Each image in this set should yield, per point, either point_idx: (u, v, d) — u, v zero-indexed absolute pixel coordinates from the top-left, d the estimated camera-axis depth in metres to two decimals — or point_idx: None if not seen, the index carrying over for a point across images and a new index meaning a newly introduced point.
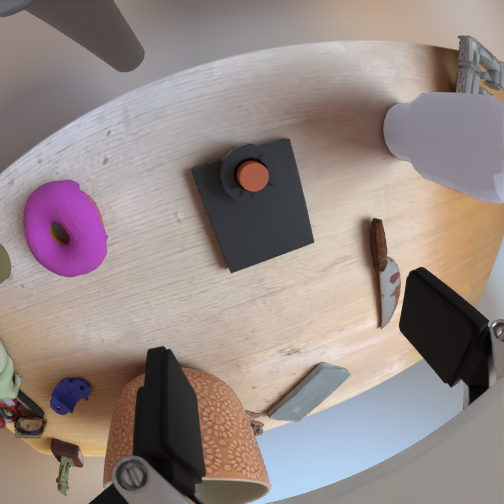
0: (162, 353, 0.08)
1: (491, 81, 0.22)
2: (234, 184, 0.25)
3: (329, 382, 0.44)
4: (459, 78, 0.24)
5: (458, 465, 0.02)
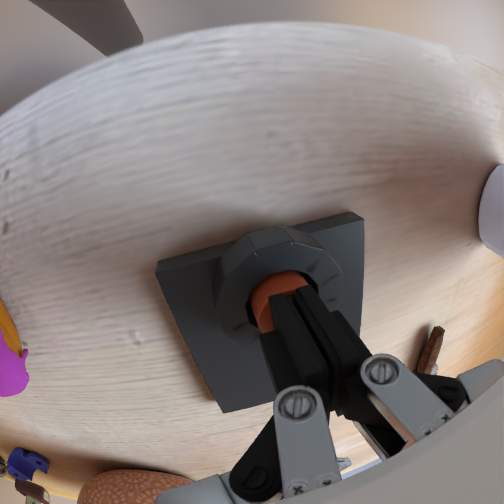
0: (284, 297, 0.10)
1: None
2: (245, 321, 0.11)
3: None
4: None
5: (458, 465, 0.02)
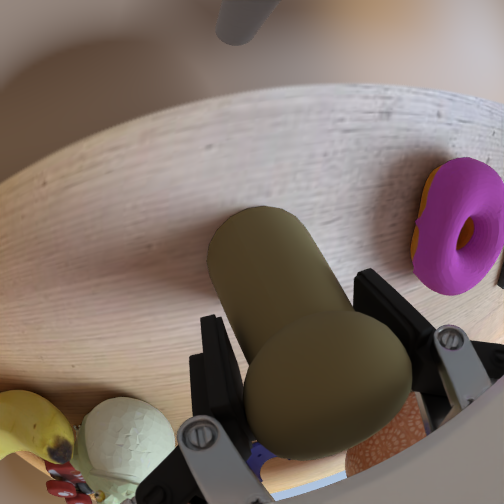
0: (215, 320, 0.09)
1: None
2: None
3: None
4: None
5: (458, 465, 0.02)
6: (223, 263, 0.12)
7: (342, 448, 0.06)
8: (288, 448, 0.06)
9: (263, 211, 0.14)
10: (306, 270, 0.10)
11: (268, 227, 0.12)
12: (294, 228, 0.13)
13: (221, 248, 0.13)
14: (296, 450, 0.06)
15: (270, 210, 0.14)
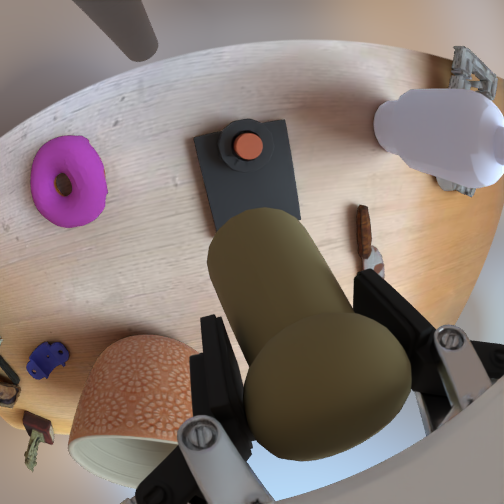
0: (215, 320, 0.09)
1: (483, 90, 0.26)
2: (230, 152, 0.26)
3: None
4: (451, 84, 0.27)
5: (458, 465, 0.02)
6: (224, 264, 0.12)
7: (342, 449, 0.06)
8: (288, 449, 0.06)
9: (263, 212, 0.14)
10: (307, 272, 0.10)
11: (268, 228, 0.12)
12: (294, 229, 0.13)
13: (221, 249, 0.13)
14: (296, 451, 0.06)
15: (270, 211, 0.14)
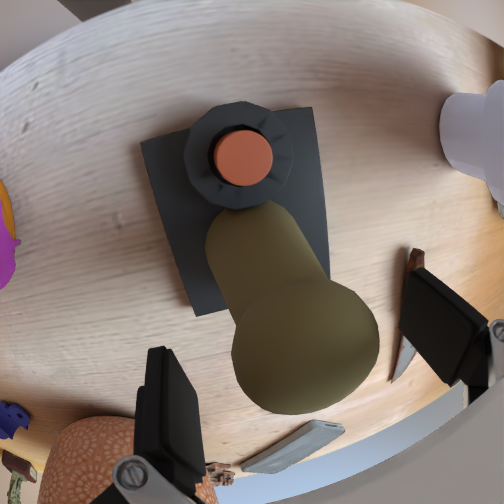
0: (162, 353, 0.08)
1: None
2: (207, 170, 0.13)
3: (319, 440, 0.32)
4: None
5: (458, 465, 0.02)
6: (219, 247, 0.14)
7: (318, 401, 0.08)
8: (268, 393, 0.07)
9: None
10: (288, 248, 0.11)
11: (258, 215, 0.14)
12: (281, 216, 0.14)
13: (217, 234, 0.15)
14: (276, 397, 0.08)
15: None
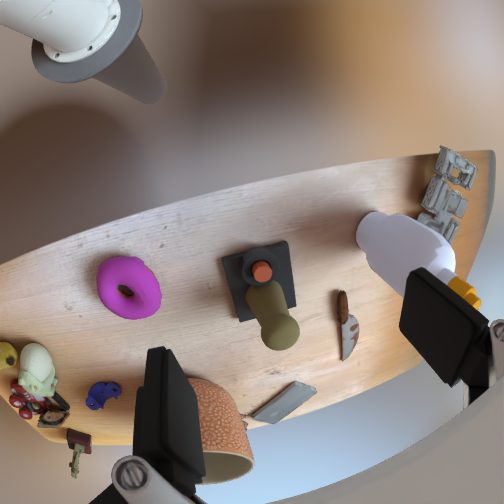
0: (162, 353, 0.08)
1: (461, 182, 0.40)
2: (249, 275, 0.40)
3: (300, 396, 0.59)
4: (430, 184, 0.41)
5: (458, 465, 0.02)
6: (253, 299, 0.41)
7: (282, 345, 0.35)
8: (270, 341, 0.34)
9: None
10: (276, 303, 0.38)
11: (266, 288, 0.41)
12: (274, 288, 0.41)
13: (252, 294, 0.42)
14: (272, 343, 0.34)
15: None
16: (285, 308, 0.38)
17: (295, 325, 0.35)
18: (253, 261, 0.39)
